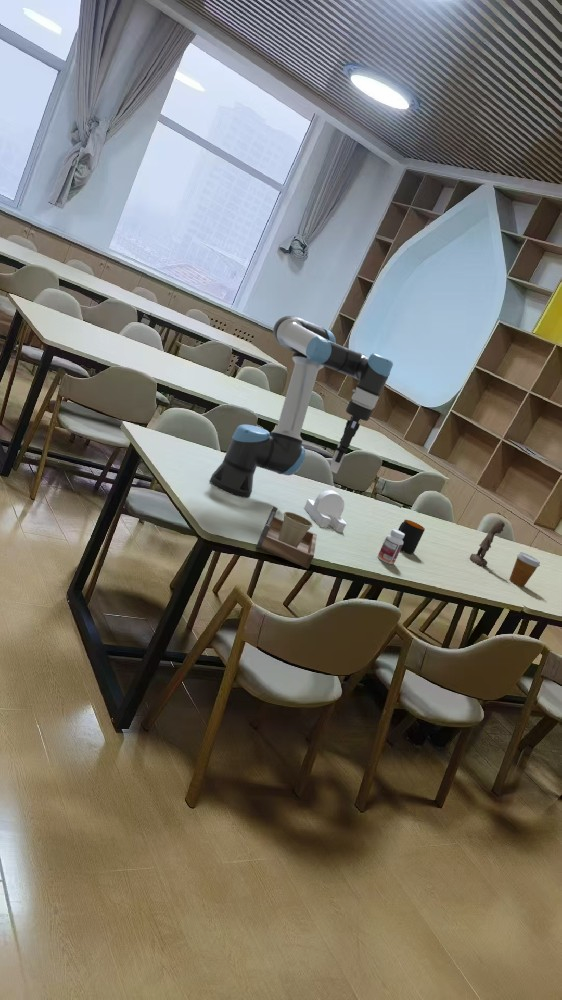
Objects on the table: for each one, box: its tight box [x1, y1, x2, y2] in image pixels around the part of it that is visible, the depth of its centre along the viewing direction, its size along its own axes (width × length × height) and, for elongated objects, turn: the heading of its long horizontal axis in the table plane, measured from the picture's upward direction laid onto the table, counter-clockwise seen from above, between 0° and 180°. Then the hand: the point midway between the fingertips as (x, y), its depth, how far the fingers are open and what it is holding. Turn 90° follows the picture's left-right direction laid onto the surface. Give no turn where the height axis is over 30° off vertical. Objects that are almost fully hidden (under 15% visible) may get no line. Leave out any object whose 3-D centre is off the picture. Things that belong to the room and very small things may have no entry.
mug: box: [397, 519, 426, 555], centre depth 286 cm, size 8×12×10 cm
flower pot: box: [278, 511, 314, 548], centre depth 226 cm, size 9×9×9 cm
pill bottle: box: [377, 528, 405, 565], centre depth 258 cm, size 6×6×11 cm
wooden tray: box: [255, 506, 318, 570], centre depth 227 cm, size 25×16×7 cm, turn 174°
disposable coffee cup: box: [509, 552, 541, 588], centre depth 307 cm, size 10×10×12 cm
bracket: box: [303, 489, 347, 534], centre depth 277 cm, size 19×10×11 cm, turn 16°
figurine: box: [469, 519, 506, 567], centre depth 314 cm, size 9×8×20 cm
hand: (333, 467), depth 235 cm, fingers open, 13 cm apart
